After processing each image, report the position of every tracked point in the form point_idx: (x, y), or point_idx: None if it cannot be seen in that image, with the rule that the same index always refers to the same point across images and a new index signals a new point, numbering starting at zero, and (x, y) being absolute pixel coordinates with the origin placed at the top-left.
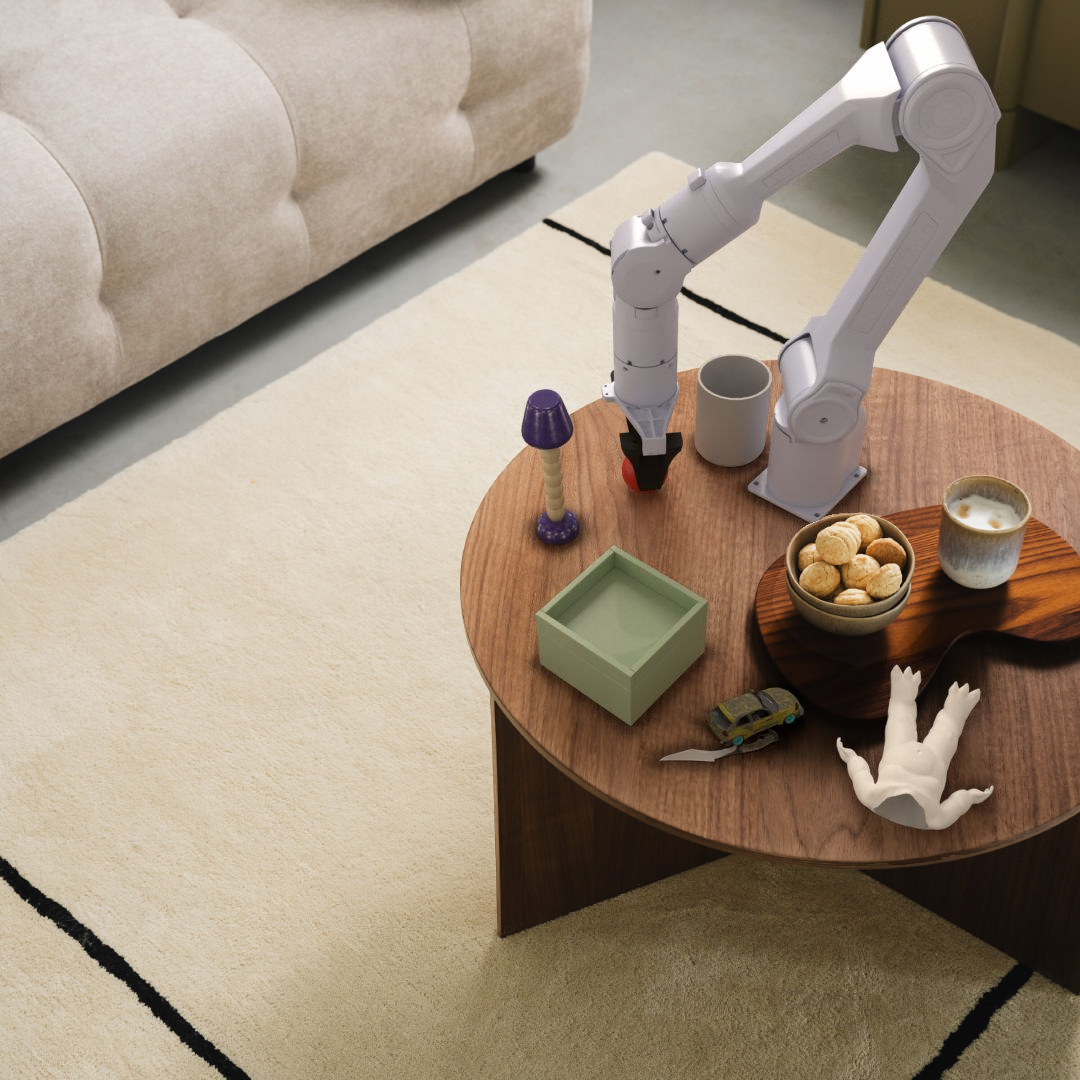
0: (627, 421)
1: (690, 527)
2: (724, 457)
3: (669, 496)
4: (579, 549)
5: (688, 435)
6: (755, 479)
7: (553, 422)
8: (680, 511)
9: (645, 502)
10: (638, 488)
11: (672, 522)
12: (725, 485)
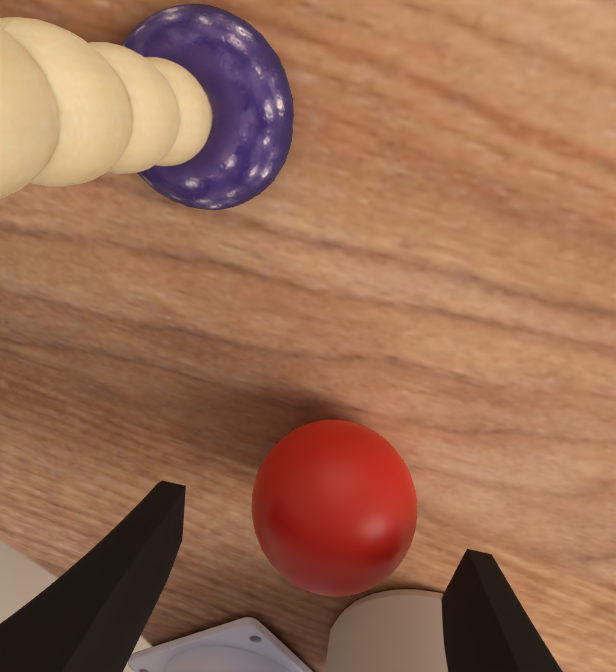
0: (501, 632)
1: None
2: (338, 643)
3: None
4: None
5: None
6: (267, 642)
7: None
8: (218, 487)
9: (273, 428)
10: (270, 451)
11: (181, 459)
12: (283, 588)
